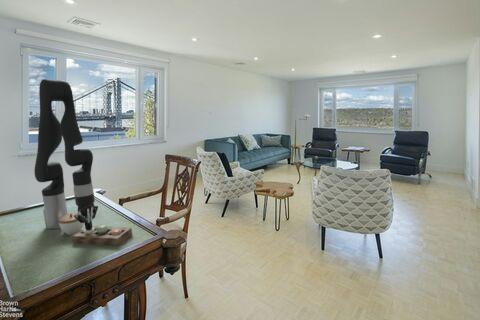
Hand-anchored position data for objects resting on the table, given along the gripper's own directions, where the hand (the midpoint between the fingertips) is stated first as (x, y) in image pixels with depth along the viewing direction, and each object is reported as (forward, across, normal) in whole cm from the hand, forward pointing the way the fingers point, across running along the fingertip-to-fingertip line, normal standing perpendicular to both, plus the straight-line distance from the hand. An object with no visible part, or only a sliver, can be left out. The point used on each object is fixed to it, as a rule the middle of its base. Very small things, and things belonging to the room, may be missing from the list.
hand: (89, 229), depth 125 cm
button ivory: (+2, 0, 0) cm, 2 cm away
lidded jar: (+4, -5, -13) cm, 15 cm away
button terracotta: (+2, 0, +14) cm, 14 cm away
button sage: (+1, 0, +7) cm, 7 cm away
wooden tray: (+4, 0, +7) cm, 8 cm away
